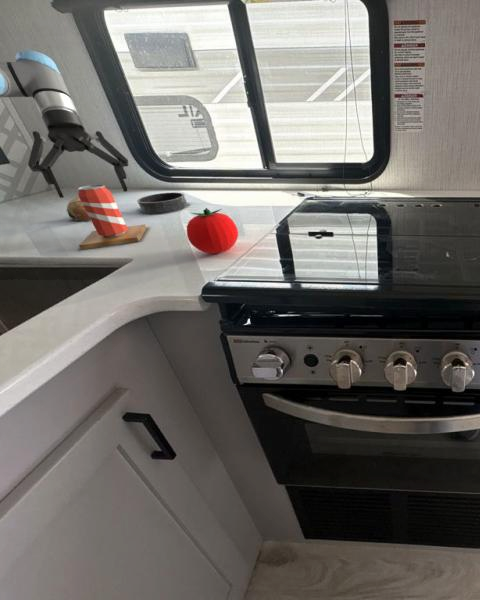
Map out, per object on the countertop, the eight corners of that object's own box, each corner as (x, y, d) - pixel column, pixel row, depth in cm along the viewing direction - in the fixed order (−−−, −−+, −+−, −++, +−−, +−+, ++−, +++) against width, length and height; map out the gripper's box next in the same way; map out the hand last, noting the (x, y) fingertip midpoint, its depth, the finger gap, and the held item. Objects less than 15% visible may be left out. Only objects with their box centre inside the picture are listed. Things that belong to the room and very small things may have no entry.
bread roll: (75, 229, 104) (50, 209, 98) (99, 207, 109) (76, 187, 103) (98, 232, 102) (73, 212, 95) (121, 209, 107) (99, 189, 100)
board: (81, 249, 81) (78, 245, 80) (94, 235, 89) (92, 231, 89) (139, 241, 85) (137, 237, 84) (146, 228, 93) (145, 224, 93)
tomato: (190, 250, 79) (174, 209, 74) (235, 240, 85) (223, 200, 80) (200, 264, 72) (184, 220, 67) (248, 252, 78) (237, 210, 73)
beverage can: (134, 231, 88) (112, 185, 81) (107, 239, 83) (82, 190, 76) (120, 228, 90) (98, 183, 84) (94, 236, 85) (68, 188, 79)
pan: (138, 216, 103) (133, 205, 101) (146, 205, 114) (141, 195, 112) (185, 210, 108) (182, 199, 106) (189, 200, 118) (185, 190, 116)
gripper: (119, 124, 99) (148, 192, 100) (-4, 123, 83) (34, 204, 85) (117, 109, 93) (149, 181, 95) (-15, 105, 77) (26, 192, 79)
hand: (94, 192), depth 90 cm, fingers open, 13 cm apart
